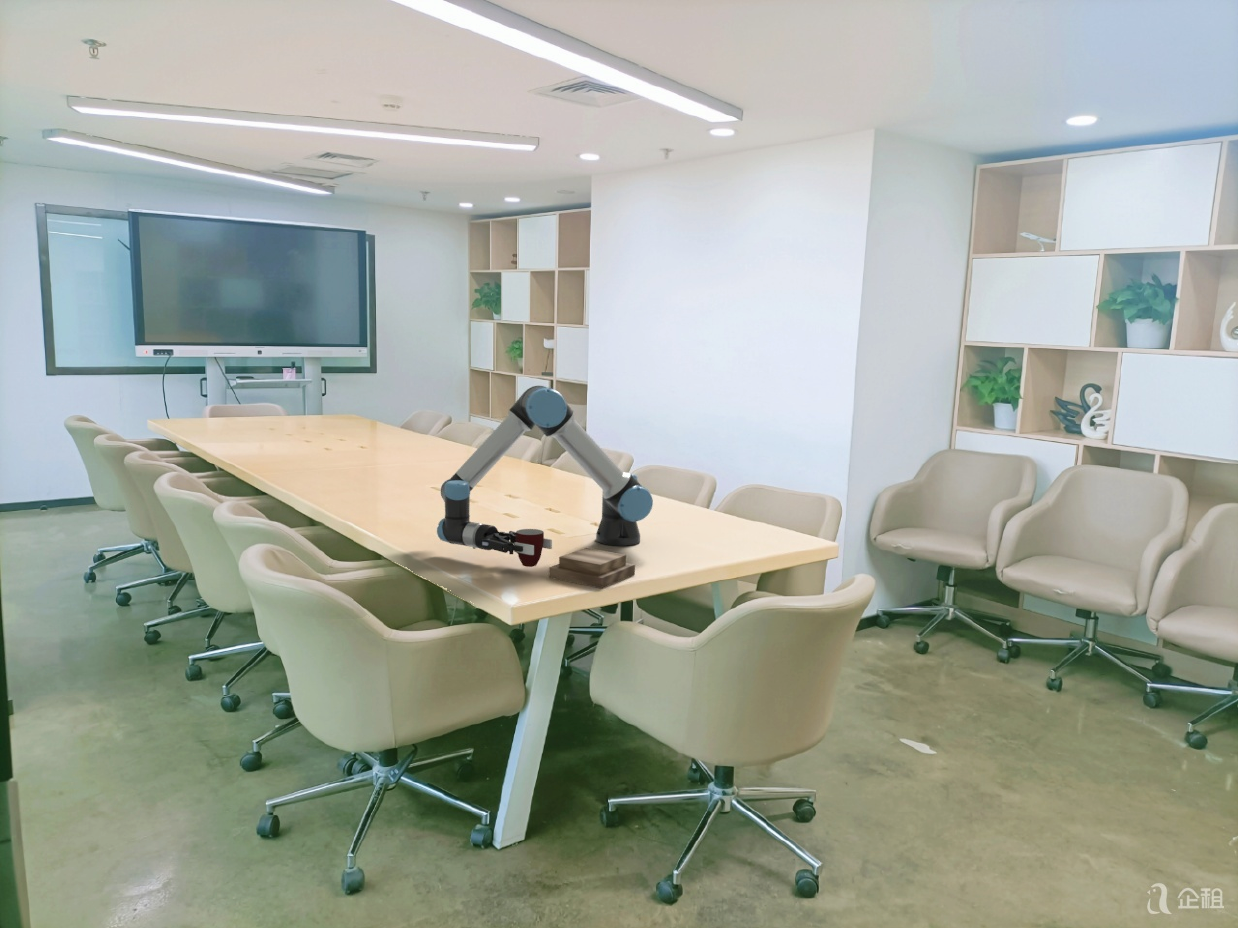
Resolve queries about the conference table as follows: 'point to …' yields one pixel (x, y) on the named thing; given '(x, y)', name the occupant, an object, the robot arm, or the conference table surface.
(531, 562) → the mug
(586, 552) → the stand
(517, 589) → the conference table surface
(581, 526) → the conference table surface
